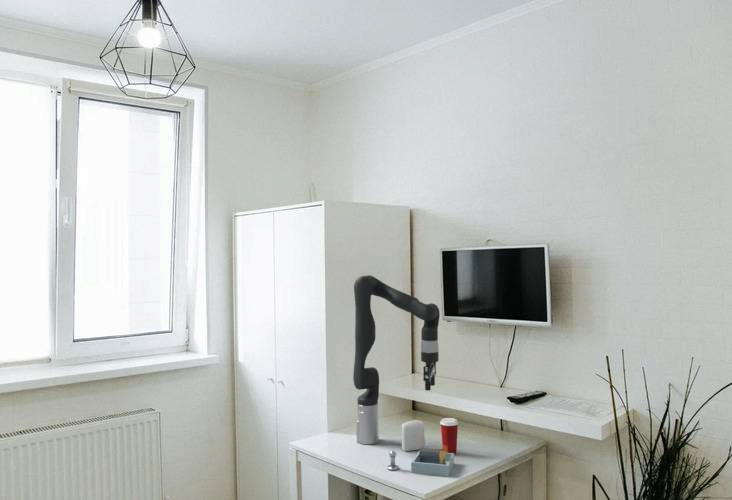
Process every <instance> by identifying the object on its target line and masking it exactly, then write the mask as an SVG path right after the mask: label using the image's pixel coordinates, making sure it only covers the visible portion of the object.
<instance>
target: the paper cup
mask: <svg viewBox="0 0 732 500" xmlns="http://www.w3.org/2000/svg"><path fill="white" fill-rule="evenodd" d="M439 424H440V430H441V431H440V432H441V433H440V434H441V445H442V449H444V450H445V452H446V453H454V456H455V455H457V451H458V448H457V447H458V446H457V445H458V428H459V427H458V426H459V425H458V424H459V421H458V419H456V418H454V417H445V418H441V420H440V421H439Z"/></svg>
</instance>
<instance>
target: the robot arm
mask: <svg viewBox="0 0 732 500" xmlns="http://www.w3.org/2000/svg"><path fill="white" fill-rule="evenodd" d="M353 293H354V294H353V295H354V303H355V304H354V305H355V314H354V315H355V319H354V320H355V325H354V327H355V328H354V330H355V331H354V340H355V341H354V342H355V343H354V345H355V346H354V347H355V349H354V363H353V364H354V365H353V373H352V374H353V377H352V378H353V385H354V387H355V390H356V389H357V390H360V391H361V390H365V392H364V393H362V394H360V395H359V396H357V420H356V422H355V423H356V443H358V444H363V445H375V444H377V443H379V438H380V437H379V397H380V392H379V391H380V376H379V375H380V374H379V372H378V369H377V368H376V367H374V366H373V367H372V366H371V367H365V366H366V360H367V357H368V355H369V353H370V352H371V350H372V348H373V345H374V344H375V341H376V323H375V318H374V316H373V312H372V309H371V308H372V307H371V306H372V305H371V303H372V302H371V298H372V296H375V297H377V298H378V297H379V298H382V299H385V300H386V301H388V302H389V303H390V304H392V305H393V306H395V307H396V308H398V309H400V310H403V311H405V312H407V313H410V314H412V315H413V316H414V317H416V318H418V319H420V320H421V321H423V326H422V328H421V342H420V361H421V362H423V363H425V365H424V366H423V368H422V369H423V373H422V374H423V379H422V380H423V381H424V389H425V391H431V387H434V386H435V385H436V379H435V378H436V375H437V362H439V358H440V357H439V337H438V335H439V334H438V333H439V331H438V327H439V323H440V316H441V315H440V314H441V313H440V308H439V307H438V305H436V304H435V303H433V302H432V303H431V302H430V303H428V304H427V303H425V302H422V301H420V300H419V299H418V298H417V297H415V296H412V295H410V294H407V293H405V292H403V291H400V290H397V289H395V288H394V287H392V286H389V285H388V284H386V283H384V282H383V281H381V280H379V279H378V278H377V277H375V276H373V275H368V274H367V275H362V276H359V277H357V278H356V279H355V281H354V284H353Z"/></svg>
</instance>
